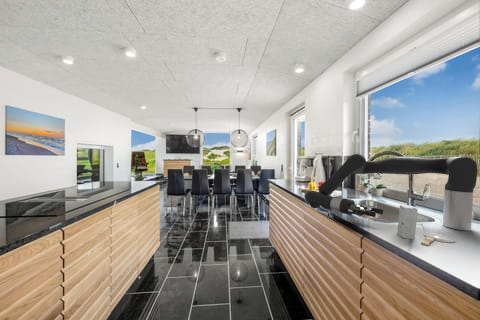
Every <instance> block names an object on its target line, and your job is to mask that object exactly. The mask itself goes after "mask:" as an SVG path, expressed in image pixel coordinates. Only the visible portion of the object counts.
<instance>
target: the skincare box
mask: <svg viewBox="0 0 480 320" xmlns="http://www.w3.org/2000/svg"><path fill="white" fill-rule="evenodd" d="M398 209H399V210H398V224H397V234H398V235H399V236H400V238H404V239H408V240H409V239H410V240H416V232H417V231H416V230H417V220H418V208H416V207H414V206H413V205H407V204H399V208H398Z"/></svg>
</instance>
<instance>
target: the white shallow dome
mask: <svg viewBox="0 0 480 320" xmlns="http://www.w3.org/2000/svg"><path fill="white" fill-rule="evenodd" d="M423 236H424V237H425V238H426V237H432V238H435V240H434V241H437V242H440V243H448V244H451V243H452V244H453V243H456V239H455V238H454V237H452V236H449V235H445V234H442V233H437V232H427V231H426V232H423Z"/></svg>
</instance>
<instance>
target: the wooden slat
mask: <svg viewBox="0 0 480 320" xmlns="http://www.w3.org/2000/svg"><path fill="white" fill-rule="evenodd" d="M434 241H436V240H435V238H432V237H425V238H424V239H423V240H421V242H420V245H423V246H427V247H429V246H430V245H431V244H432V243H434Z"/></svg>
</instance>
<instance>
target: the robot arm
mask: <svg viewBox="0 0 480 320" xmlns="http://www.w3.org/2000/svg"><path fill="white" fill-rule="evenodd" d="M478 169H479V168H478V164H477V161H475V160H474V159H473V158H471V157H469V156H452V157H441V158H425V157H417V156H392V157H388V158H384V159H380V160H373V161H372V160H367V159H366V157H365V155H363V154H360V153H354V154H351V155H350V156H348V158H347V159H346V161H344V163H343V164H342V165H341V166H340V167H339V168H337V170H336V171H335V172H334V173H333V174H332V175H331V176H330V177H328V179H326V180H325V181H324V182H323V183H321V184H319V186H318V191H315V190H309V191H307V192H306V193H305V195H304V199H305V201H306V202H307V204H308V205H309V206H310V208H312V209H318V208H320V207H322V208H323V209H325V210H329V211H333V212H335V213H340V214H343V215H348V216H353V215H356V216H360V217H362V216H364V217H365V216H367V217H372V218H376V216H377V214H378V215H383V214H384V209H383V208H377V207H375V205H368V204H362V203H358V204H356V202H355V200H353V199H350V198H344V197H339V196H338V197H336V196H330V195H331V194H333V192H335V191H336V190H338V188H339V187H340V186H341V185H342V184H343V183H344V181H346V179H347V178H348V177H350V175H351V174H354V175H366V174H367V175H368V174H381V175H383V174H385V175H386V174H387V175H411V176H412V175H422V174H423V175H424V174H440V175H448V179H447V182H446V183H445V184H444V195H443V198H444V199H443V212H442V213H443V215H442V226H444V227H446V228H449V229H454V230H459V231H467V232H470V231H472V224H473V222H472V220H473V206H474V191H475V188H476V186H477V180H478V179H477V178H478Z"/></svg>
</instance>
